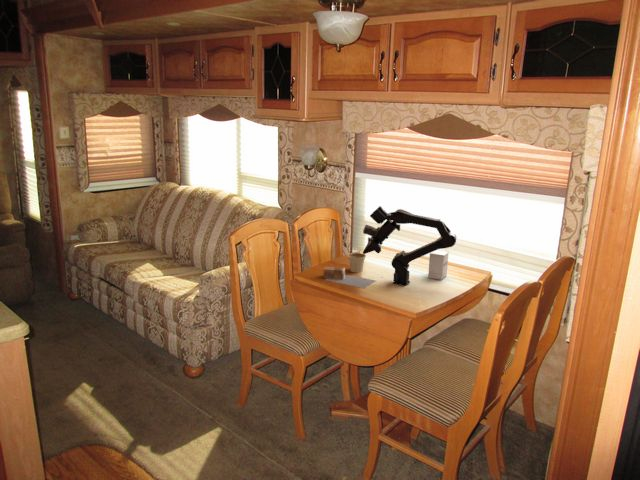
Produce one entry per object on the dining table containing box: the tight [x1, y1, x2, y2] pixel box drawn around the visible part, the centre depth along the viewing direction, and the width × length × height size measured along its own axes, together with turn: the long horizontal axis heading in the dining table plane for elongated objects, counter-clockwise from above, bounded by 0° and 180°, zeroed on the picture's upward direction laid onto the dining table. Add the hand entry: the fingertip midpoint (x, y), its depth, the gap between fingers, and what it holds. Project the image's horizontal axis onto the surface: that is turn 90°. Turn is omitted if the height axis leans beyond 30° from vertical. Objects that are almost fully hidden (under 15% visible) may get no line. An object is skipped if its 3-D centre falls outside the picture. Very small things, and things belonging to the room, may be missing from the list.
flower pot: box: [347, 252, 367, 273], centre depth 265 cm, size 9×9×9 cm
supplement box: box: [427, 250, 449, 281], centre depth 257 cm, size 7×7×13 cm
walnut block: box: [322, 266, 346, 280], centre depth 255 cm, size 4×4×10 cm
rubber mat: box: [324, 273, 377, 289], centre depth 251 cm, size 22×13×1 cm, turn 57°
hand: (363, 253), depth 250 cm, fingers closed
